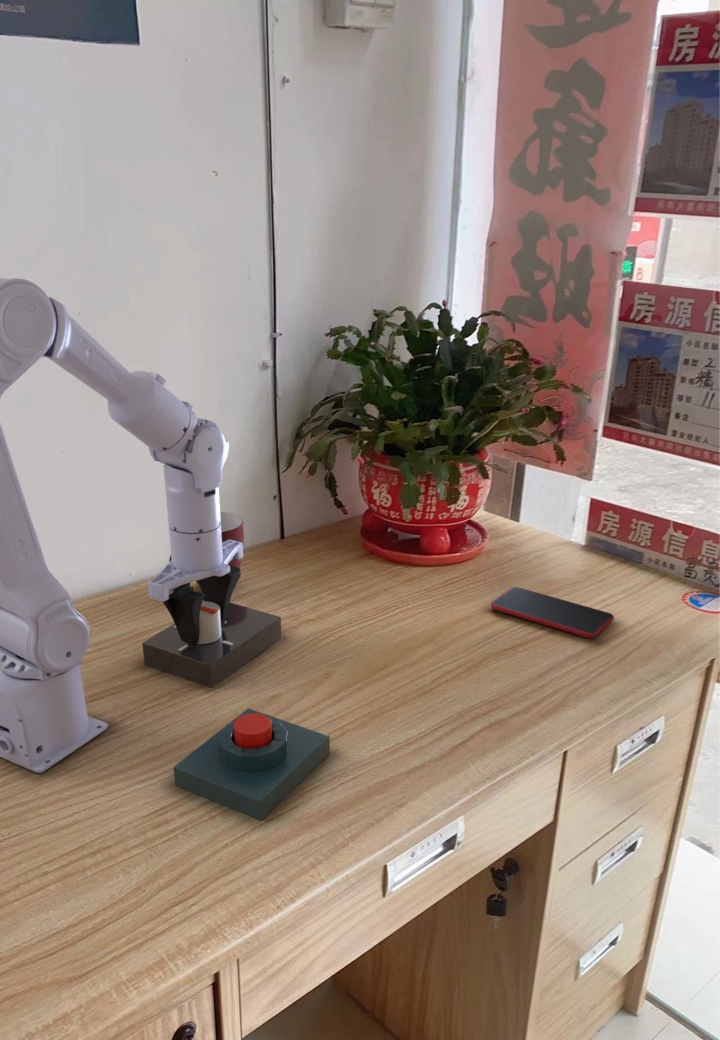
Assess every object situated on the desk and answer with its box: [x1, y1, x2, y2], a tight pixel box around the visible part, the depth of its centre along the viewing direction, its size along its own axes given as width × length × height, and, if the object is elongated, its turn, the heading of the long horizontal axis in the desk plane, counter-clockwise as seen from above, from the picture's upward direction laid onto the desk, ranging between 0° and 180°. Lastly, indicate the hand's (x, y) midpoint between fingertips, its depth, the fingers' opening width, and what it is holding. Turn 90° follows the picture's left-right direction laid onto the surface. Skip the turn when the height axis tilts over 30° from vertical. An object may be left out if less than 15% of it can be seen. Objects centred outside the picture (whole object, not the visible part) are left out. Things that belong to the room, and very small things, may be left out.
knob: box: [196, 601, 222, 644], centre depth 103 cm, size 4×4×4 cm
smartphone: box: [490, 586, 615, 639], centre depth 117 cm, size 7×1×15 cm
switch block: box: [173, 708, 331, 821], centre depth 86 cm, size 12×10×4 cm
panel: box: [141, 601, 282, 688], centre depth 107 cm, size 14×10×3 cm
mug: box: [168, 511, 245, 587], centre depth 120 cm, size 10×8×10 cm
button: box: [234, 714, 272, 748], centre depth 84 cm, size 4×4×2 cm
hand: (202, 633), depth 104 cm, fingers closed on knob, 4 cm apart
